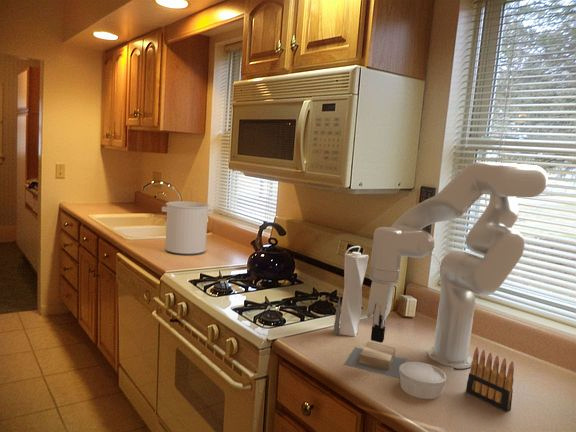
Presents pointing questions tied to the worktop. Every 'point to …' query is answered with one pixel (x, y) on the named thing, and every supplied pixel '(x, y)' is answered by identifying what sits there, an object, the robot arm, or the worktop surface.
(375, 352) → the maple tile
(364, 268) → the skyscraper
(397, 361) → the mat
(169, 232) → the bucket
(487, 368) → the ammunition clip
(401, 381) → the ramekin
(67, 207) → the worktop surface
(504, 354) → the worktop surface
